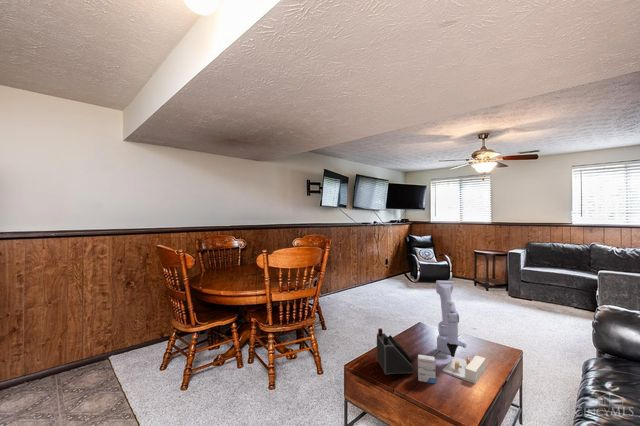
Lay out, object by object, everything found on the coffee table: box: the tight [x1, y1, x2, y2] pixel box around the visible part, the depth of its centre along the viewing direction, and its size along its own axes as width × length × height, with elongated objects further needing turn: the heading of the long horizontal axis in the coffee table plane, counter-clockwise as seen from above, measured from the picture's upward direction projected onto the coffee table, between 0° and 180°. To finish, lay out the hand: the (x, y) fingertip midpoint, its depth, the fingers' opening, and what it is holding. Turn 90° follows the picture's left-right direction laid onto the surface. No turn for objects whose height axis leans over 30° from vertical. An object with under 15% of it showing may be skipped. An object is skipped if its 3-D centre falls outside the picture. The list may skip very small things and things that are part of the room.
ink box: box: [417, 354, 437, 384], centre depth 147 cm, size 8×5×12 cm, turn 71°
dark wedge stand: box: [376, 328, 415, 376], centre depth 159 cm, size 16×16×20 cm
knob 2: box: [466, 357, 472, 365], centre depth 158 cm, size 3×4×4 cm
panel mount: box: [442, 355, 487, 385], centre depth 156 cm, size 16×20×6 cm
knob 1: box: [455, 362, 462, 370], centre depth 154 cm, size 3×4×4 cm
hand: (452, 356), depth 165 cm, fingers closed
